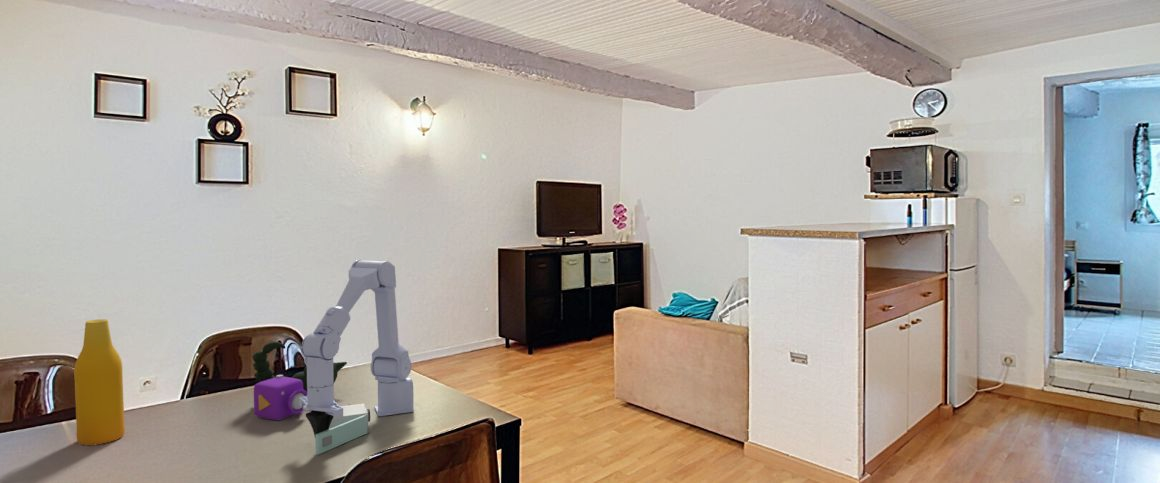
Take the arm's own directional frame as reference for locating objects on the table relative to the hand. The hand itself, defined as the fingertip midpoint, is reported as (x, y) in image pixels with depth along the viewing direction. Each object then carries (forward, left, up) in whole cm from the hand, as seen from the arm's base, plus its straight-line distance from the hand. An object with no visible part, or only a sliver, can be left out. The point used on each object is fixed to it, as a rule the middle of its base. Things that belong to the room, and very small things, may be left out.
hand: (321, 441), depth 144 cm
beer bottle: (+48, -29, -2) cm, 56 cm away
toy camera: (+8, -29, -2) cm, 30 cm away
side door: (-5, -2, -2) cm, 6 cm away
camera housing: (-6, -11, -2) cm, 13 cm away
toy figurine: (+3, -43, -2) cm, 43 cm away
